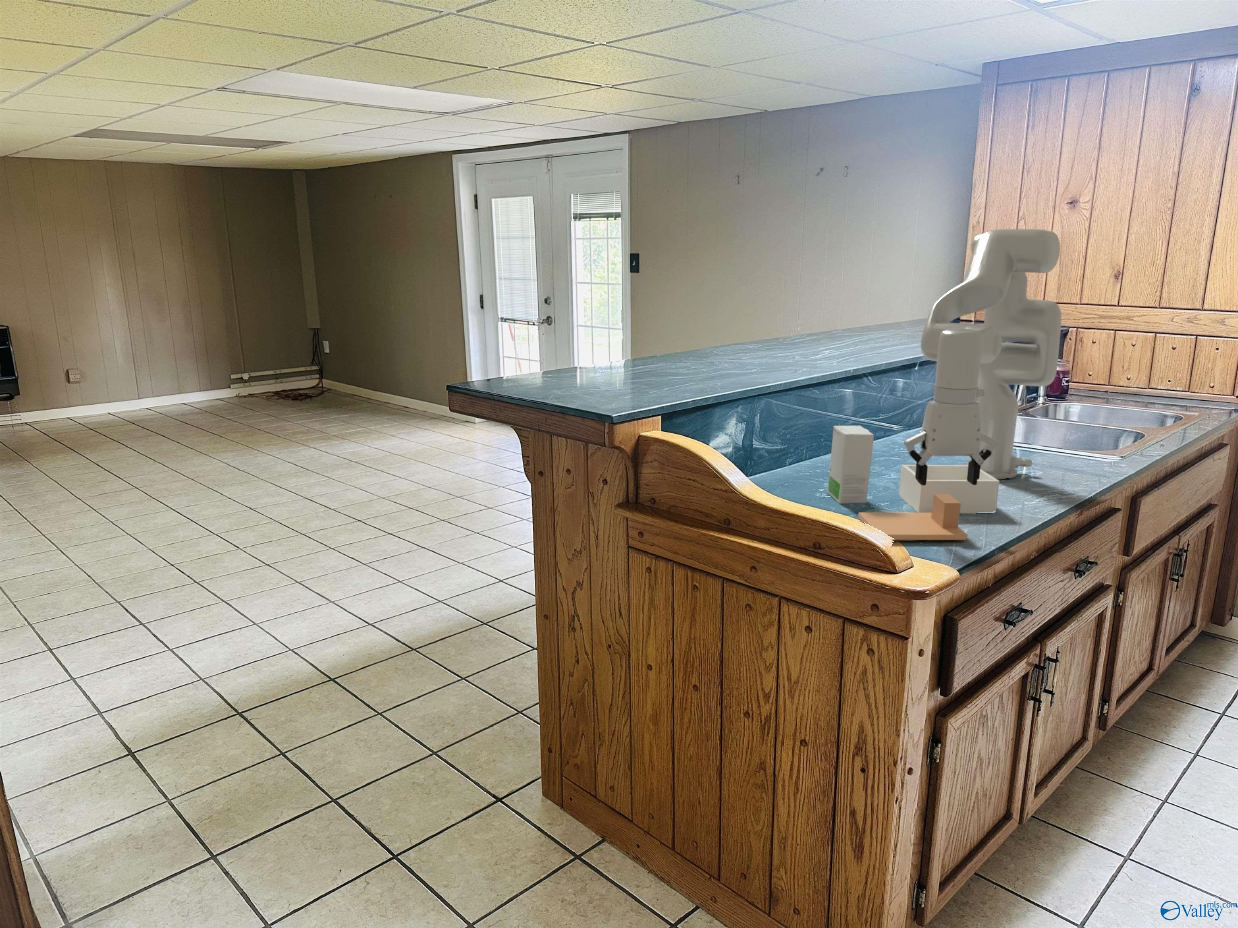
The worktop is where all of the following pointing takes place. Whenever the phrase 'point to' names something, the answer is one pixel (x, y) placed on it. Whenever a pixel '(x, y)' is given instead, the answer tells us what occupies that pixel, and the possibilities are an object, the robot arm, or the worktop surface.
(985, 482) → the tub
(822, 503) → the worktop surface
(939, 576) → the worktop surface
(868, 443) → the skincare box
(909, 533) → the lid
